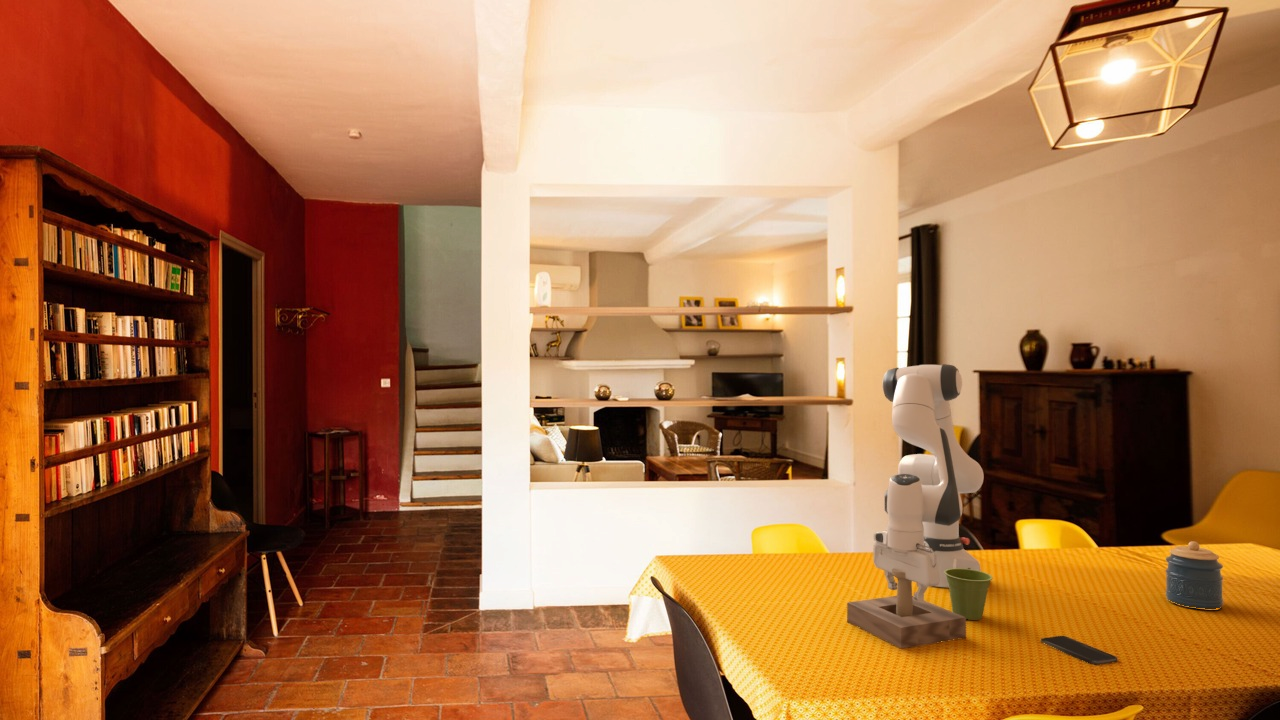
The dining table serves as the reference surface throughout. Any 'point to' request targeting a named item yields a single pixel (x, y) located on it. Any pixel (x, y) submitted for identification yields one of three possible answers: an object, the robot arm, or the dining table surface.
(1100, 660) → the phone
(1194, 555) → the canister
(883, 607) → the socket block
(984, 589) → the plant pot
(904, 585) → the handle
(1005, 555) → the dining table surface
